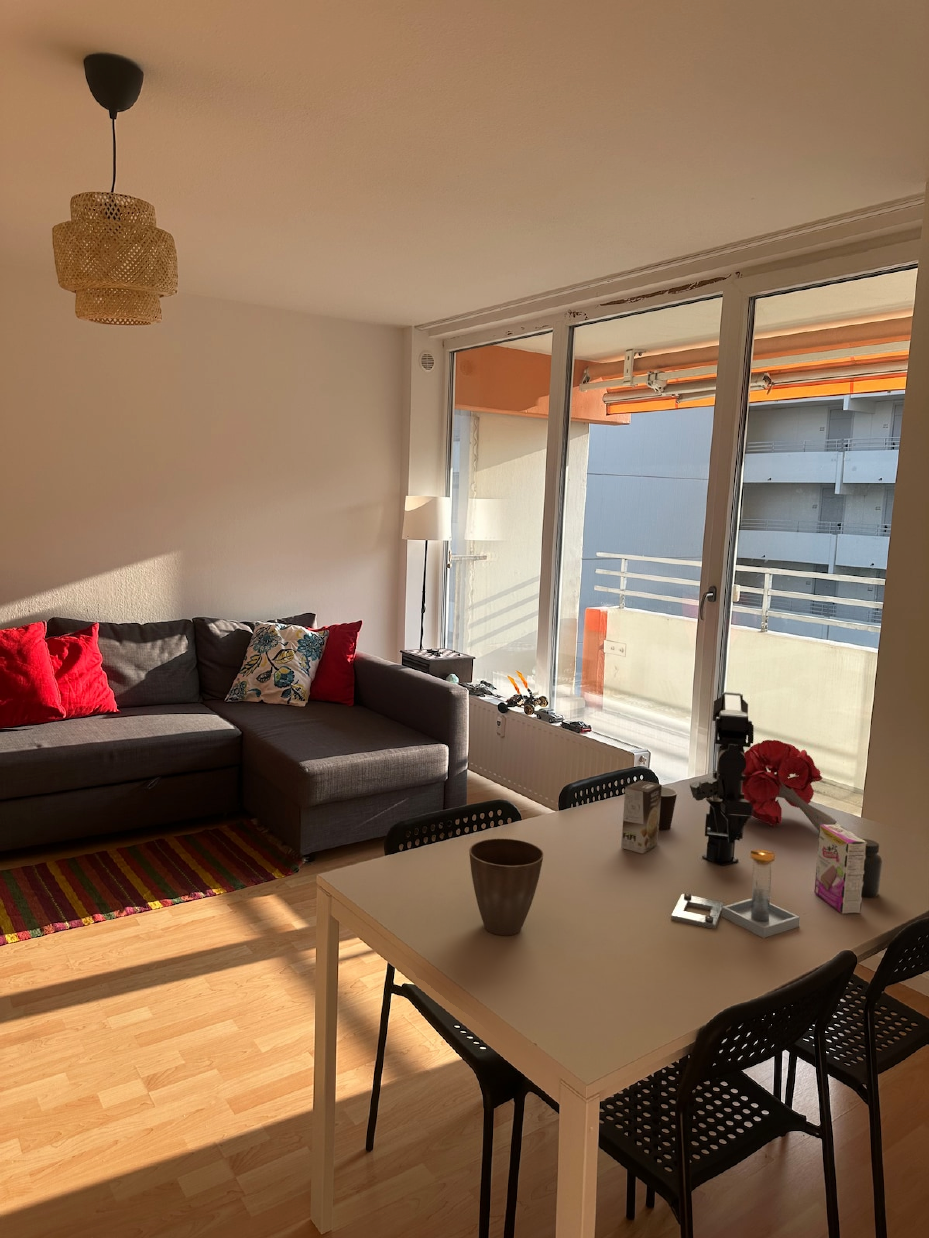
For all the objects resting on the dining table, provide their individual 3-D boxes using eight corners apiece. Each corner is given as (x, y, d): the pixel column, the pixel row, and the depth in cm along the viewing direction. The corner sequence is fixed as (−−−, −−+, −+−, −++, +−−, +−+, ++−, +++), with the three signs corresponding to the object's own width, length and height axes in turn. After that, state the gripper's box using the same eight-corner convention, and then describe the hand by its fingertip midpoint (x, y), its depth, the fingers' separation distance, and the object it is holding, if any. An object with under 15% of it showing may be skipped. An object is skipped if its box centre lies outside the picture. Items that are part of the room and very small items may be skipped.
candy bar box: (812, 893, 203) (818, 823, 201) (832, 892, 204) (838, 823, 202) (840, 914, 192) (847, 841, 190) (861, 914, 193) (868, 841, 191)
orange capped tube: (752, 911, 191) (754, 847, 190) (774, 916, 188) (777, 852, 187) (745, 918, 187) (747, 854, 186) (768, 924, 184) (771, 859, 183)
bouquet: (823, 843, 254) (739, 773, 269) (871, 784, 243) (781, 714, 258) (792, 868, 239) (705, 792, 254) (842, 807, 227) (748, 731, 242)
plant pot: (467, 909, 188) (470, 836, 186) (537, 912, 188) (541, 839, 186) (465, 942, 173) (468, 863, 171) (541, 946, 173) (545, 867, 171)
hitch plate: (681, 898, 198) (682, 891, 197) (723, 906, 194) (723, 899, 194) (671, 919, 187) (671, 912, 186) (715, 929, 183) (715, 921, 183)
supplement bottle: (847, 895, 203) (851, 844, 201) (845, 883, 209) (850, 834, 208) (880, 900, 200) (885, 849, 199) (877, 889, 207) (882, 839, 205)
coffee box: (643, 854, 223) (647, 792, 221) (620, 848, 226) (624, 787, 224) (658, 844, 230) (662, 784, 228) (635, 838, 234) (639, 779, 232)
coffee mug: (677, 832, 239) (680, 796, 238) (645, 831, 239) (648, 795, 238) (668, 817, 251) (670, 783, 250) (638, 816, 251) (640, 782, 250)
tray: (756, 905, 195) (757, 896, 195) (798, 926, 186) (799, 916, 186) (721, 916, 189) (722, 906, 189) (763, 937, 180) (764, 928, 180)
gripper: (684, 759, 210) (680, 825, 210) (704, 774, 192) (699, 846, 192) (732, 762, 210) (727, 828, 210) (756, 777, 191) (751, 849, 192)
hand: (725, 837), depth 201 cm, fingers open, 9 cm apart
